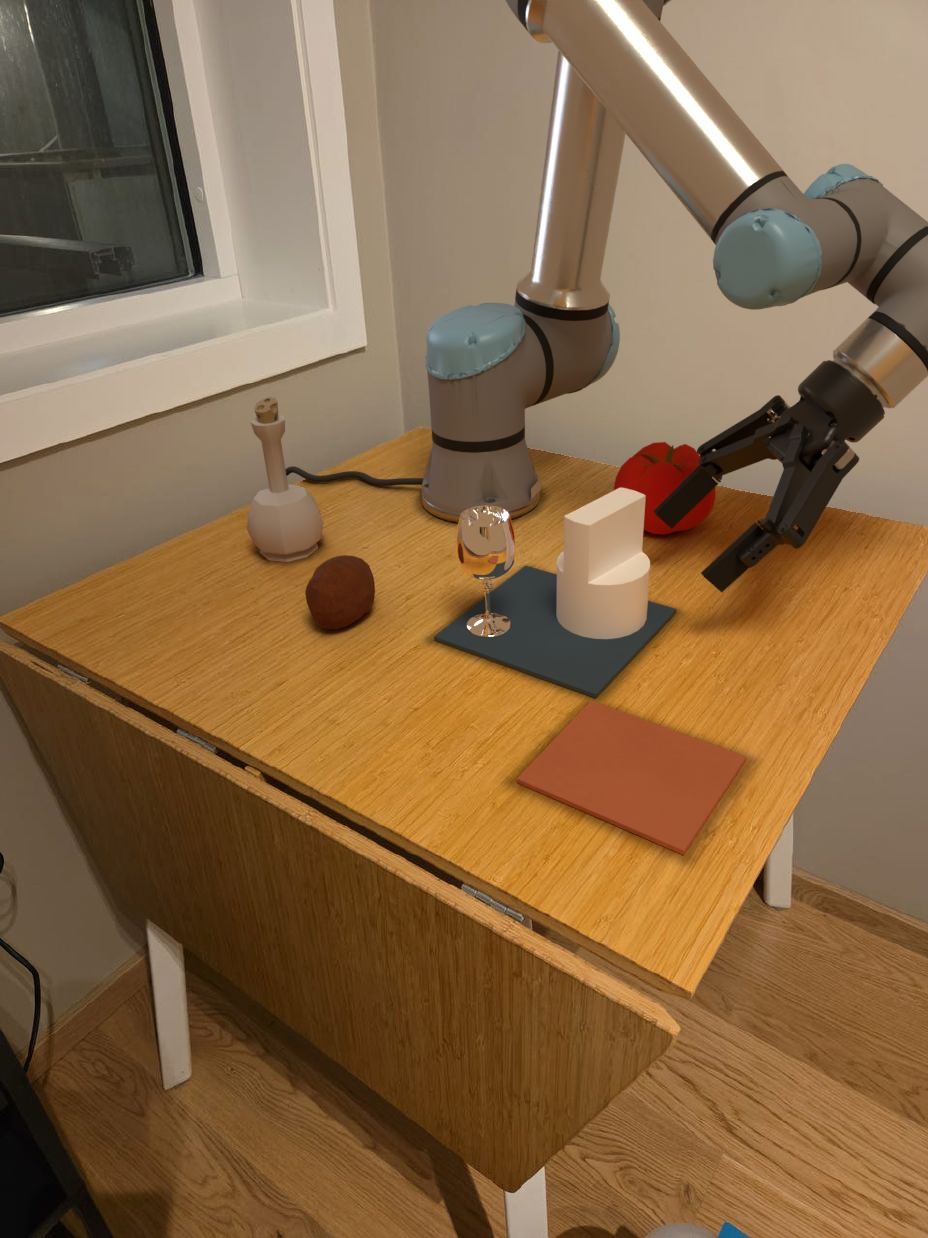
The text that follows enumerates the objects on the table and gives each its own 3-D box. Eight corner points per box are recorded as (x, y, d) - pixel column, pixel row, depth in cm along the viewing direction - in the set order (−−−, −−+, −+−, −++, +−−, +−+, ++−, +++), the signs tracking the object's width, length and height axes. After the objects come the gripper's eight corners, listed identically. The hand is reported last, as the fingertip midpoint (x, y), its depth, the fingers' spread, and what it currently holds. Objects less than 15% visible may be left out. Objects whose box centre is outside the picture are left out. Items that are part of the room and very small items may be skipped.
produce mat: (516, 783, 71) (516, 778, 71) (590, 704, 79) (590, 700, 79) (683, 855, 64) (684, 850, 64) (745, 761, 72) (746, 756, 72)
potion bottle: (339, 537, 109) (320, 392, 100) (298, 571, 103) (273, 418, 93) (279, 527, 113) (255, 385, 103) (236, 558, 106) (206, 409, 96)
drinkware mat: (434, 640, 89) (433, 636, 89) (525, 569, 101) (525, 565, 100) (596, 698, 80) (596, 694, 80) (676, 612, 91) (676, 608, 91)
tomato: (625, 499, 115) (629, 431, 110) (721, 513, 111) (729, 442, 106) (599, 534, 107) (602, 462, 102) (701, 550, 102) (709, 476, 98)
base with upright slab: (594, 583, 96) (597, 478, 90) (664, 612, 91) (674, 503, 84) (537, 616, 91) (537, 508, 85) (609, 649, 85) (614, 536, 79)
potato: (289, 628, 92) (279, 572, 89) (344, 587, 99) (337, 534, 96) (343, 645, 89) (336, 588, 86) (396, 601, 96) (391, 547, 92)
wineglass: (524, 614, 92) (523, 506, 85) (508, 644, 87) (505, 532, 81) (470, 606, 93) (465, 500, 87) (451, 636, 89) (444, 525, 82)
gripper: (962, 459, 73) (761, 636, 79) (816, 372, 94) (667, 517, 101) (914, 401, 70) (709, 591, 76) (774, 324, 91) (623, 478, 97)
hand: (684, 549), depth 88 cm, fingers open, 13 cm apart
